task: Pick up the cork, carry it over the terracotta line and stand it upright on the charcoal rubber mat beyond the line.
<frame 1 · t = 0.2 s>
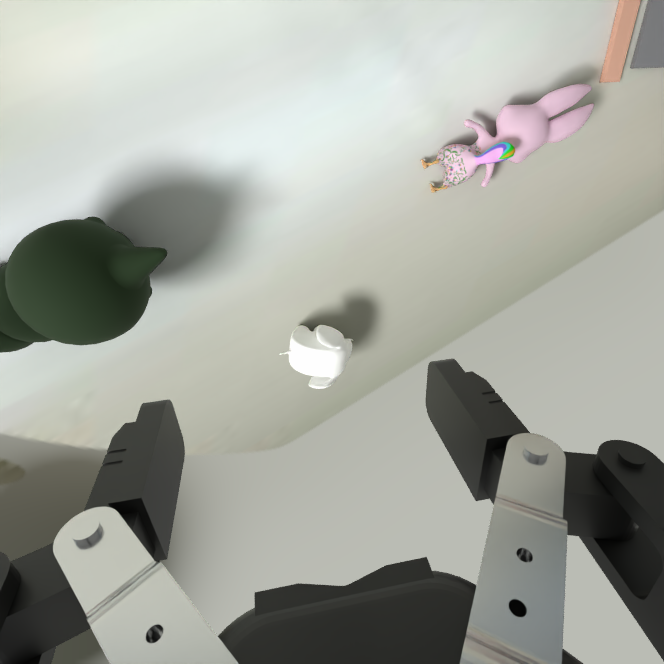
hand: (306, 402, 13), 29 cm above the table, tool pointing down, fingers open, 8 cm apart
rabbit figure: (494, 137, 39), on the table
elephant figurine: (313, 336, 46), on the table
dark green rounded piece: (58, 279, 38), on the table
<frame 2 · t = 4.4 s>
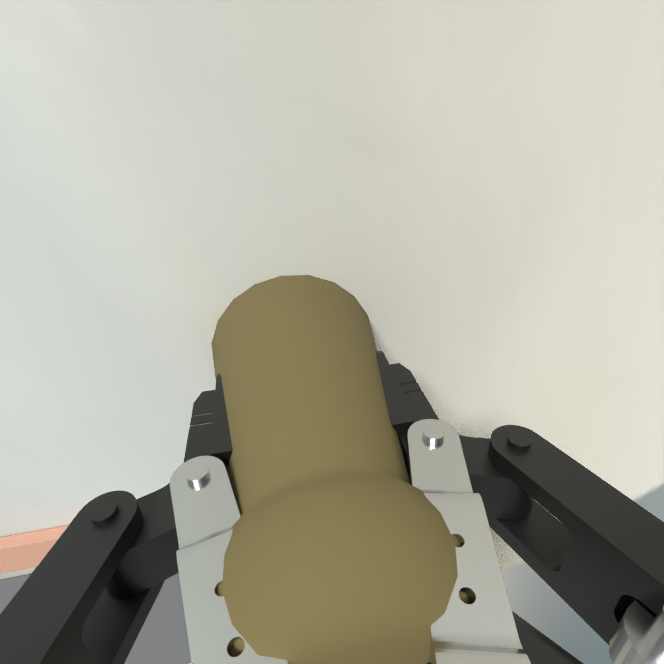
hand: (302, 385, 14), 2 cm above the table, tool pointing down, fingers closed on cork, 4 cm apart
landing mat: (248, 593, 23), on the table
cork: (294, 347, 16), on the table, touching gripper
throw line: (225, 508, 19), on the table
when the fingers open (4 cm above the table, at t = 9.8 s): cork drops 1 cm, resting on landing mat.
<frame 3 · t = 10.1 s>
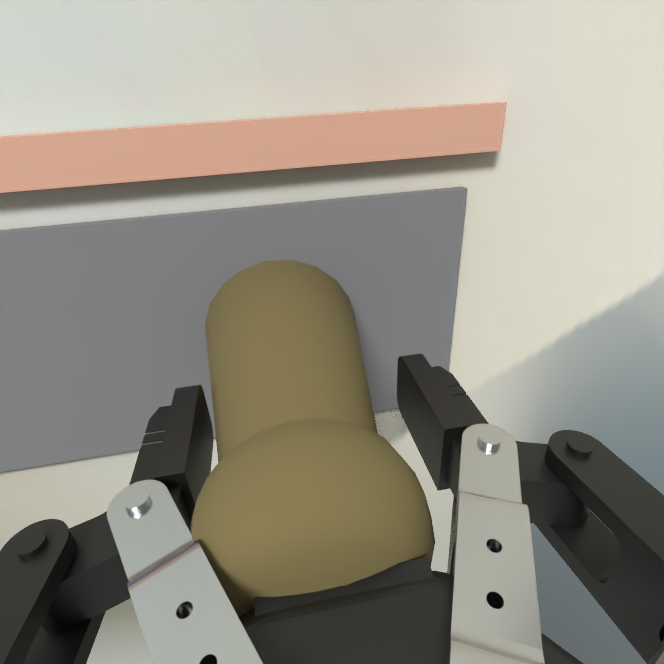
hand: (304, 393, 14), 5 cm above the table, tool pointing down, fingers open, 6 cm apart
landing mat: (193, 339, 17), on the table
cork: (281, 328, 17), resting on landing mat
throw line: (145, 152, 14), on the table
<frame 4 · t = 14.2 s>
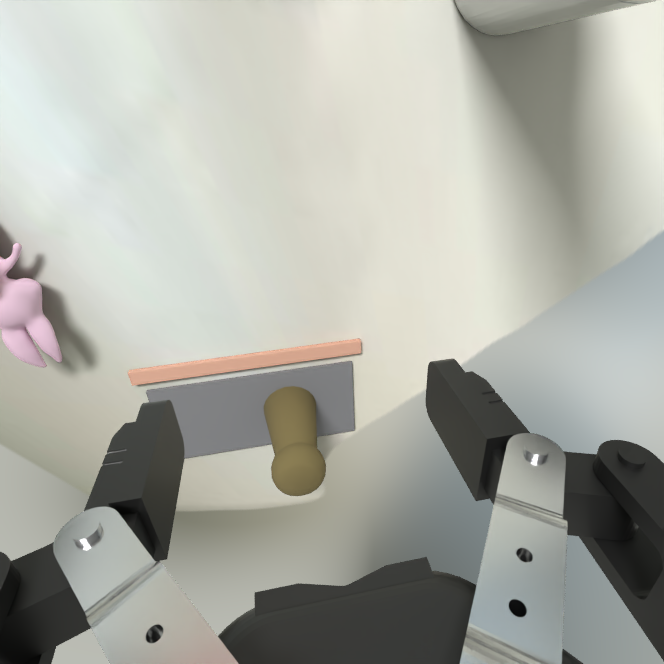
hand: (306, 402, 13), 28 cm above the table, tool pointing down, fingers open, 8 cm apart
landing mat: (258, 410, 48), on the table
cork: (289, 406, 49), resting on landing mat
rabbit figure: (15, 279, 37), on the table
throw line: (249, 359, 45), on the table
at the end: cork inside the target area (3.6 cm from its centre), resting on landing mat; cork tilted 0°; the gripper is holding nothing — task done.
